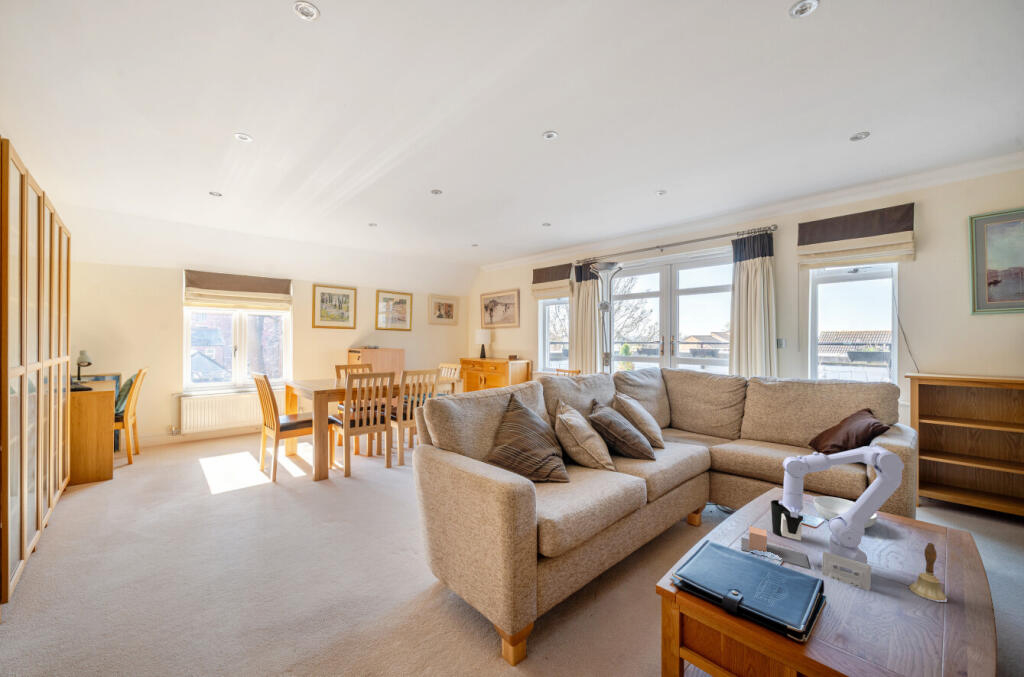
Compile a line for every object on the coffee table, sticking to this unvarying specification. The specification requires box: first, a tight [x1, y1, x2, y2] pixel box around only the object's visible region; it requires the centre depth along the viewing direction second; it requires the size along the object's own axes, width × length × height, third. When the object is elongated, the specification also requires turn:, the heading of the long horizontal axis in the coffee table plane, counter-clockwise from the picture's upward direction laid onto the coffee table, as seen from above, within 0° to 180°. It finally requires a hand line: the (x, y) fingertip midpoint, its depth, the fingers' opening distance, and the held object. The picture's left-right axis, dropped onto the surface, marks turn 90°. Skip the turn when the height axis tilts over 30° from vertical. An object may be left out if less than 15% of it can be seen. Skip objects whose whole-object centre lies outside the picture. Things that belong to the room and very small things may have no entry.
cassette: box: [821, 550, 872, 592], centre depth 127 cm, size 12×2×8 cm, turn 49°
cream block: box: [781, 514, 803, 541], centre depth 140 cm, size 5×5×6 cm
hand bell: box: [908, 542, 947, 600], centre depth 122 cm, size 8×8×16 cm
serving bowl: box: [813, 495, 878, 529], centre depth 169 cm, size 21×21×7 cm
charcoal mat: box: [740, 537, 810, 570], centre depth 143 cm, size 20×10×1 cm, turn 59°
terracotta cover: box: [748, 525, 768, 552], centre depth 146 cm, size 5×5×6 cm
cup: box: [770, 499, 788, 539], centre depth 157 cm, size 8×8×12 cm
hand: (791, 529), depth 140 cm, fingers closed on cream block, 5 cm apart
